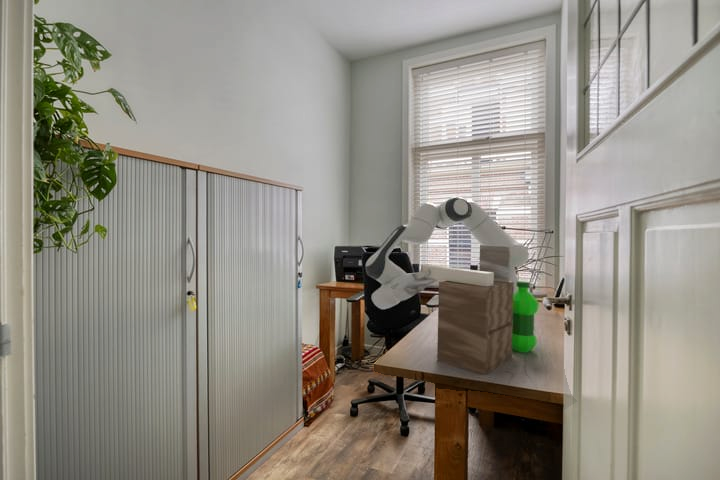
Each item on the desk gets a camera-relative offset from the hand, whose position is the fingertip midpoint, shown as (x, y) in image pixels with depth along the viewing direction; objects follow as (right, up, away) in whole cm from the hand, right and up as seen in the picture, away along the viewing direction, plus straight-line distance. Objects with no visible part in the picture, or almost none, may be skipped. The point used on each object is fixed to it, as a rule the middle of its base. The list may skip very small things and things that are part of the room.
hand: (433, 270), depth 121 cm
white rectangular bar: (+6, -3, -6) cm, 9 cm away
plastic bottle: (+33, -30, +6) cm, 45 cm away
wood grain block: (+13, -29, -4) cm, 32 cm away
